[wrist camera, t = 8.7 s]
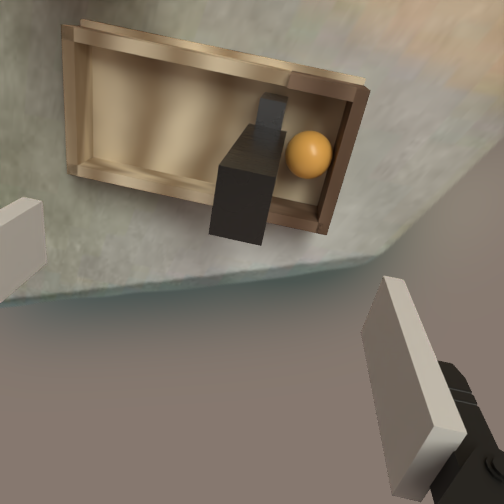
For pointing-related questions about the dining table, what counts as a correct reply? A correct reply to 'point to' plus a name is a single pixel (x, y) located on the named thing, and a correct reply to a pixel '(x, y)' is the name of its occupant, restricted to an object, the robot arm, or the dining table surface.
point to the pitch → (197, 116)
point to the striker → (250, 175)
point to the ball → (308, 154)
